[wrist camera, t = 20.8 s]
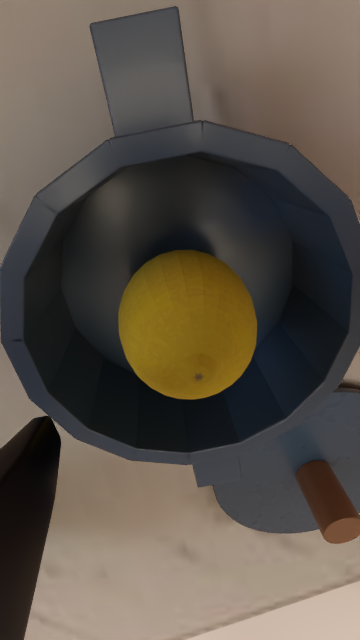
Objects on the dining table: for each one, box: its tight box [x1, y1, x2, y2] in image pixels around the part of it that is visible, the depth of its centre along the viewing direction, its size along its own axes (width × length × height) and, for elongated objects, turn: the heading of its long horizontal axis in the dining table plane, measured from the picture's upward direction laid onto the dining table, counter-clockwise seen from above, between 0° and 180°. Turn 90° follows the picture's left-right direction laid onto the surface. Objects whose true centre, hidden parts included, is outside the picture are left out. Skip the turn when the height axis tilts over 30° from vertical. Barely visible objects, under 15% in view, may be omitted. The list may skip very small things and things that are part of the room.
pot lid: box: [213, 388, 360, 544], centre depth 22 cm, size 15×15×5 cm
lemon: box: [118, 250, 257, 399], centre depth 14 cm, size 6×6×8 cm
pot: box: [0, 6, 360, 487], centre depth 15 cm, size 14×19×6 cm
